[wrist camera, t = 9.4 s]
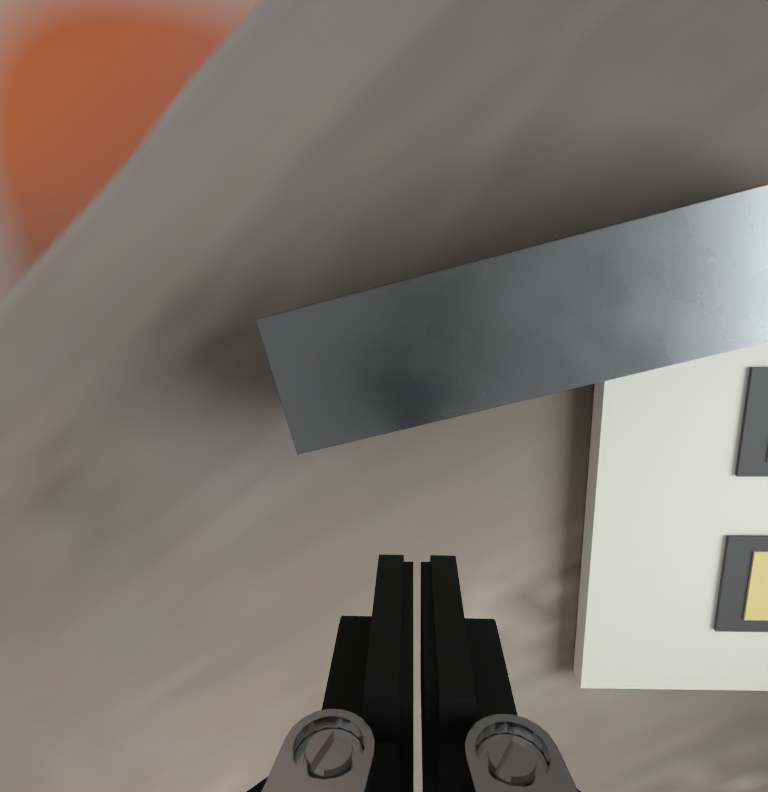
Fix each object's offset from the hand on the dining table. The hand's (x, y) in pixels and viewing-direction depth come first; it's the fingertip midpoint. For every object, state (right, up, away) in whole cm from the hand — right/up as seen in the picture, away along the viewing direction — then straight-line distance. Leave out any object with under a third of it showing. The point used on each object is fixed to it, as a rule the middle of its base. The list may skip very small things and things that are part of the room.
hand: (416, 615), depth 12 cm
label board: (+17, +2, +14) cm, 22 cm away
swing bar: (+7, +9, +10) cm, 15 cm away
